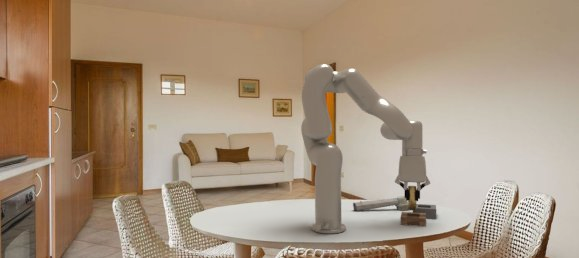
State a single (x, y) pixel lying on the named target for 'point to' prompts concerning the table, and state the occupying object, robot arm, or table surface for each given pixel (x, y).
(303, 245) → the table surface
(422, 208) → the charcoal dock
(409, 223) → the walnut mount
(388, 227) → the table surface
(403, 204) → the light grey piece
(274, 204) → the table surface
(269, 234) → the table surface
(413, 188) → the brass pin
